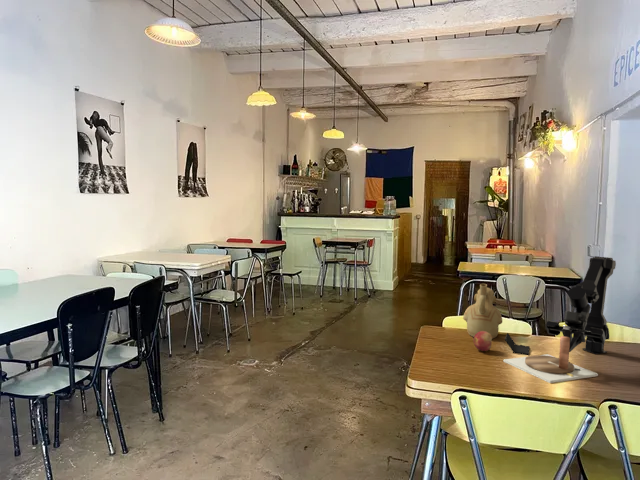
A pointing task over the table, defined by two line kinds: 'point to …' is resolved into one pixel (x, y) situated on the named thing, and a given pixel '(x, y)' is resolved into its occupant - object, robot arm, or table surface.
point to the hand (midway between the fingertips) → (568, 351)
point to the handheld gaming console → (517, 346)
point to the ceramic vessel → (483, 313)
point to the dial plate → (550, 377)
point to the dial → (553, 360)
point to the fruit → (483, 341)
